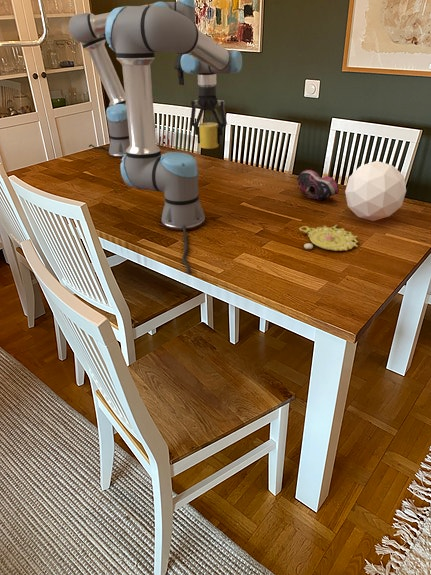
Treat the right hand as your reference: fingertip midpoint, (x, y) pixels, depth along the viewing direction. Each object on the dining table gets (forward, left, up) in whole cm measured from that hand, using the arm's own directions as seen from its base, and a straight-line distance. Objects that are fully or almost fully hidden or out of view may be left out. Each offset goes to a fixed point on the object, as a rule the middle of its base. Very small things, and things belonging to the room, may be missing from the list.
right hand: (209, 142), depth 191 cm
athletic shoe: (-35, -35, -14) cm, 51 cm away
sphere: (-59, -48, -14) cm, 77 cm away
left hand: (+50, +2, +17) cm, 53 cm away
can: (0, 0, -1) cm, 1 cm away
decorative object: (-72, -28, -14) cm, 78 cm away
